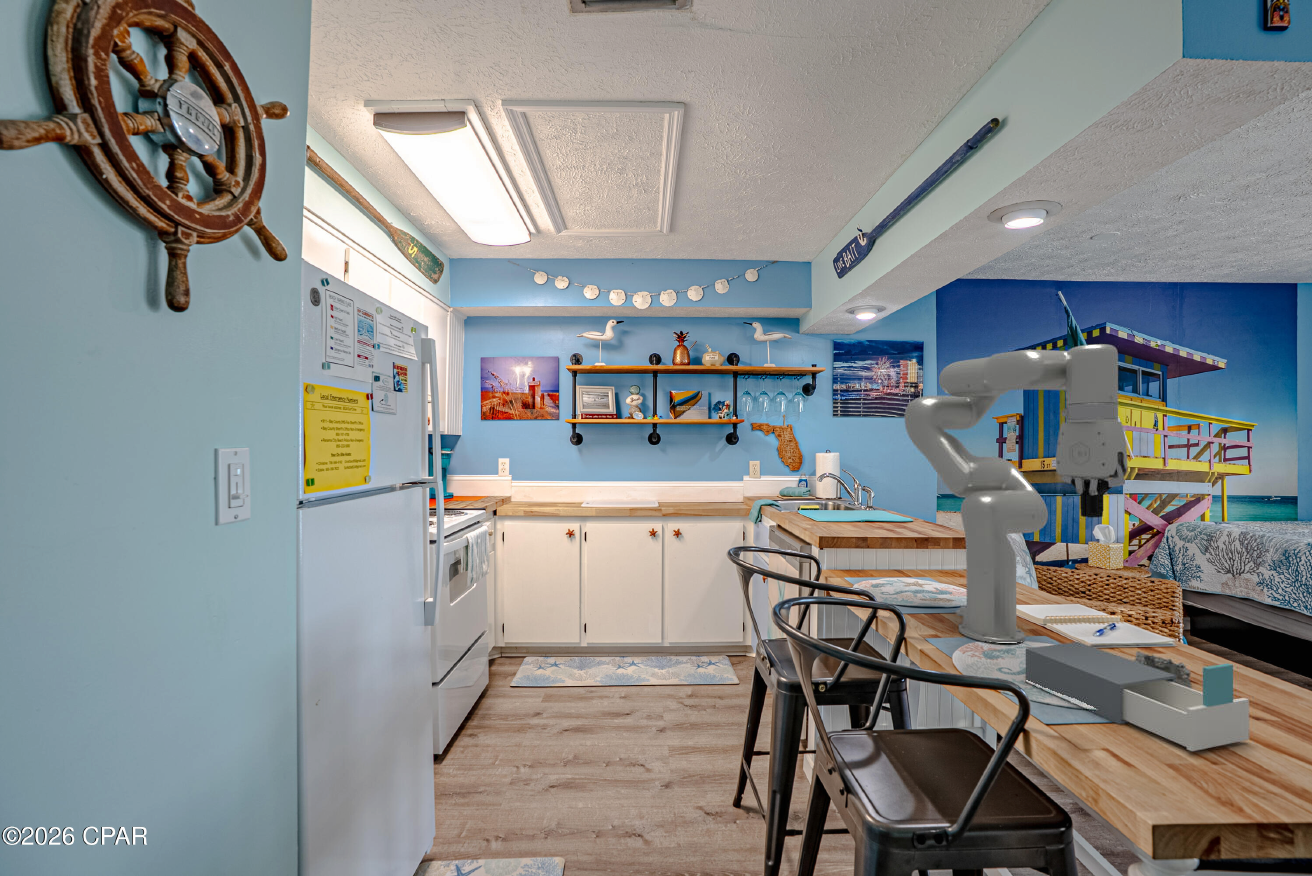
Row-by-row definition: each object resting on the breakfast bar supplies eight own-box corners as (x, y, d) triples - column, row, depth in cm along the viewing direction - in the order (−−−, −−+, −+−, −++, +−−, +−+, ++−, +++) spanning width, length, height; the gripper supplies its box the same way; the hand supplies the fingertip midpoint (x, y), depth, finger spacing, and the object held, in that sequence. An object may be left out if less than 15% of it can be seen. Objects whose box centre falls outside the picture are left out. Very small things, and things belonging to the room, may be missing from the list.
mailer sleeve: (1025, 682, 104) (1025, 648, 104) (1077, 674, 108) (1077, 641, 108) (1119, 724, 89) (1119, 684, 89) (1176, 713, 92) (1176, 675, 92)
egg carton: (1192, 699, 98) (1192, 674, 98) (1133, 687, 103) (1133, 663, 103) (1189, 679, 106) (1189, 656, 106) (1135, 668, 111) (1135, 647, 111)
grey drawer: (1074, 699, 96) (1074, 633, 96) (1126, 691, 99) (1126, 626, 99) (1191, 751, 80) (1191, 671, 80) (1249, 739, 83) (1248, 662, 83)
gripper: (1037, 415, 112) (1037, 512, 112) (1118, 412, 98) (1119, 523, 98) (1068, 416, 114) (1068, 511, 114) (1151, 413, 100) (1152, 521, 100)
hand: (1091, 516), depth 106 cm, fingers closed
